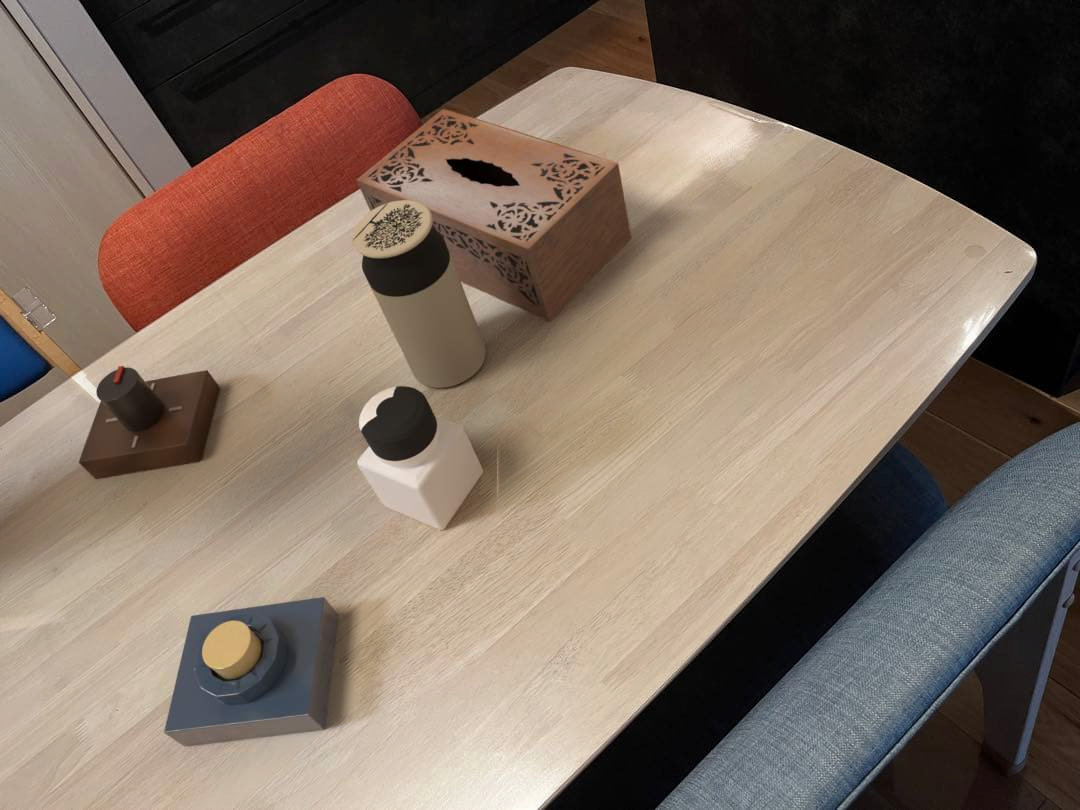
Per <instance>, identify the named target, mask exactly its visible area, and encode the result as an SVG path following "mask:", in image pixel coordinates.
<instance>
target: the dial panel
mask: <svg viewBox="0 0 1080 810" xmlns="http://www.w3.org/2000/svg"><path fill="white" fill-rule="evenodd" d="M144 381H145V380H144ZM145 382H146V383H147V384H148V385H149V387H150V388H151V389H152V390H153V391H154V393H155V394H156V395H157V396H158V397H159V399H160V400H161V401H162V402H163V405H164V410H163V413H162V415H161V417H160V418H159V419H158V420H157V422H155V423H154V424H153V425H152V426H150V427H148V428H146V429H144V430H141V431H130V430H128V429H126V428H125V427H124V425H123V424H122V423H121V422H120V421H119V420H118V419H117V418H116V417H115V416H114V415H113V413H112V412H111V411H110V410H109V409H108V408H107V407H106V406H105V405H104V404H103V403H102V401H101V400H100V401H99V403H98V404H99V405H98V408H97V410H96V413H95V415H94V419H93V421H92V424H91V427H90V429H89V431H88V435H87V437H86V441H85V443H84V445H83V448H82V451H81V454H80V456H79V459H78V464H79V465H80V466H81V467H82V468H83V469H84V470H85V471H86V472H87V473H89V474H90V475H91V477H92V478H93V479H95V480H97V479H104V478H110V477H116V476H121V475H122V476H123V475H127V474H132V473H138V472H147V471H151V470H156V469H157V470H158V469H163V468H169V467H176V466H181V465H187V464H194V463H199V462H200V463H201V462H202V461H203V458H204V454H205V451H206V446H207V442H208V439H209V435H210V430H211V427H212V423H213V419H214V415H215V410H216V407H217V403H218V399H219V395H220V391H221V386H220V385H219V384H218V383H217V381H216V380H215V378H214V377H213V376H212V374H211V373H210V372H209V370H208V369H205V370H200V371H195V372H188V373H183V374H177V375H173V376H167V377H162V378H156V379H150V380H146V381H145Z"/></svg>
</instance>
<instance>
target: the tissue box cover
mask: <svg viewBox="0 0 1080 810" xmlns="http://www.w3.org/2000/svg"><path fill="white" fill-rule="evenodd" d="M356 183H357V185H358V188H359V190H360V192H361V194H362V196H363V198H364V200H365V202H366V205H367V207H368V209H369V212H370V211H372V210H373V209H375V208H377V207H379V206H381V205H384V204H386V203H390V202H394V201H400V200H411V201H416V202H419V203H422V204H423V205H425V206H426V207H427V208H428V209H429V210H430V212H431V214H432V218H433V222H432V227H433V228H434V229H436V230H437V231H439V232H440V233H441V234H442V236H443V238H444V240H445V243H446V245H447V248H448V250H449V253H450V256H451V258H452V261H453V263H454V266H455V269H456V271H457V274H458V276H459V279H460V282H461V283H463V284H465V285H467V286H470V287H472V288H474V289H476V290H479V291H481V292H483V293H484V294H485V293H486V294H488V295H490V296H492V297H494V298H496V299H499V300H500V301H502V302H505V303H507V304H509V305H511V306H514V307H516V308H518V309H521V310H522V311H525V312H527V313H529V314H532V315H534V316H536V317H538V318H540V319H542V320H544V321H546V322H551V321H552V320H553V319H554V318H555V317H557V315H559V313H560V312H561V311H562V310H563V309H564V308H565V307H566V306H567V305H568V304H569V303H570V302H571V301H572V300H573V298H575V296H577V295H578V293H580V291H582V289H583V288H585V286H587V284H588V283H589V282H590V281H591V280H592V279H593V278H594V277H595V276H596V275H597V274H598V273H599V272H601V270H602V269H603V268H604V267H605V266H606V264H607V263H609V262H610V261H611V260H612V258H614V257H615V256H616V255H617V253H619V251H620V250H622V249H623V248H624V246H625V245H626V244H627V243H628V242H629V241H631V239H632V231H631V225H630V221H629V215H628V210H627V205H626V199H625V194H624V188H623V183H622V177H621V172H620V167H619V163H618V162H617V161H613V160H610V159H607V158H603V157H601V156H597V155H594V154H591V153H588V152H584V151H581V150H578V149H575V148H572V147H568V146H565V145H562V144H560V143H557V142H553V141H549V140H546V139H543V138H540V137H536V136H533V135H530V134H528V133H525V132H521V131H518V130H514V129H512V128H507V127H504V126H501V125H498V124H495V123H492V122H488V121H486V120H483V119H479V118H476V117H472V116H470V115H466V114H463V113H460V112H457V111H454V110H450V109H447V108H444V107H442V109H440V110H439V111H438V112H436V113H435V114H434V115H433V116H432V117H431V118H430V119H428V120H427V121H426V122H425V123H424V124H422V125H421V126H420V127H419V128H417V129H416V130H415V131H414V132H413V133H411V134H410V135H409V136H408V137H407V138H405V139H404V140H403V141H402V142H400V143H399V144H398V145H397V146H395V147H394V148H393V149H391V150H390V151H389V152H388V153H386V155H385V156H383V157H382V158H381V159H380V160H379V161H377V162H376V163H375V164H374V165H372V166H371V167H370V168H368V170H367V171H365V172H364V173H363V174H362V175H360V176H359V177H358V178H357V179H356Z"/></svg>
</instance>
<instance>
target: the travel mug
mask: <svg viewBox="0 0 1080 810" xmlns="http://www.w3.org/2000/svg"><path fill="white" fill-rule="evenodd" d="M432 222H433V218H432V214H431V212H430V210H429V209H428V208H427V207H426V206H425V205H423V204H422V203H419V202H416V201H411V200H400V201H394V202H390V203H386V204H384V205H381V206H379V207H377V208H375V209H373V210H372V211H370V210H369V212H368V213H366V214H364V215H363V217H362V218H361V219H360V220H359V221H358V222H357V223H356V225H355V226H354V228H353V230H352V234H351V242H352V245H353V248H354V249H355V251H356V252H357V253H359V254H360V255H362V260H361V269H362V273H363V274H364V276H365V278H366V279H365V280H366V281H367V282H368V284H369V287H370V289H371V290H372V293H373V295H374V297H375V299H376V301H377V303H378V305H379V307H380V309H381V311H382V314H383V315H384V317H385V320H386V322H387V324H388V326H389V327H390V329H391V332H392V333H393V336H394V338H395V340H396V342H397V344H398V346H399V348H400V350H401V352H402V354H403V356H404V358H405V360H406V363H407V365H408V367H409V368H410V370H411V372H412V374H413V377H414V378H415V380H416V381H418V382H419V383H420V384H422V385H424V386H425V387H430V388H435V389H441V388H442V389H443V388H449V387H454V386H456V385H459V384H463V382H465V381H467V380H469V379H470V378H471V377H473V376H474V375H475V374H476V373H477V372H478V371H479V370H480V368H481V367H482V365H483V363H484V362H485V359H486V355H487V353H486V352H487V348H486V344H485V341H484V339H483V336H482V333H481V331H480V329H479V326H478V323H477V320H476V317H475V316H474V313H473V310H472V307H471V305H470V302H469V300H468V297H467V295H466V292H465V290H464V287H463V284H462V282H461V281H460V279H459V276H458V274H457V271H456V269H455V266H454V263H453V261H452V258H451V256H450V253H449V250H448V248H447V245H446V243H445V240H444V238H443V236H442V234H441V233H440V232H439V231H437V230H436V229H434V228H433V227H432Z"/></svg>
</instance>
